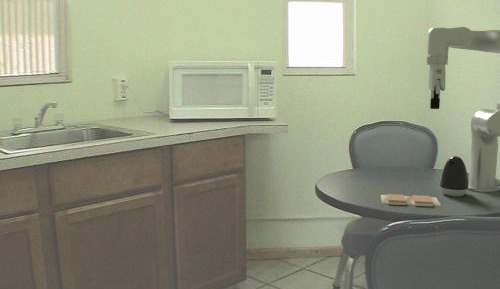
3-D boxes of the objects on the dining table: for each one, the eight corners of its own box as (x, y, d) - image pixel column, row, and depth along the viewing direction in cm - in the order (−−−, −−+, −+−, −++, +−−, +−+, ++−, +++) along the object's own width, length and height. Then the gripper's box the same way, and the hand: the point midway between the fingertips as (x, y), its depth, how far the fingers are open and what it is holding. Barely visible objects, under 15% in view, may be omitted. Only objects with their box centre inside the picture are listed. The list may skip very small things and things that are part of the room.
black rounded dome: (433, 195, 191) (436, 156, 189) (446, 190, 198) (448, 152, 196) (460, 200, 184) (463, 160, 181) (472, 195, 191) (475, 156, 188)
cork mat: (436, 198, 187) (436, 197, 187) (441, 207, 176) (441, 205, 176) (380, 196, 191) (380, 194, 190) (382, 204, 180) (382, 202, 180)
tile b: (403, 194, 184) (406, 200, 177) (403, 199, 185) (405, 205, 177) (386, 194, 186) (388, 199, 178) (386, 198, 186) (388, 204, 178)
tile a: (429, 195, 183) (432, 202, 175) (429, 200, 183) (432, 206, 175) (412, 195, 184) (414, 201, 176) (412, 199, 184) (414, 205, 176)
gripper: (451, 60, 185) (448, 110, 188) (444, 60, 199) (441, 107, 202) (429, 61, 186) (427, 110, 189) (424, 60, 201) (422, 106, 204)
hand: (434, 108), depth 196 cm, fingers closed
